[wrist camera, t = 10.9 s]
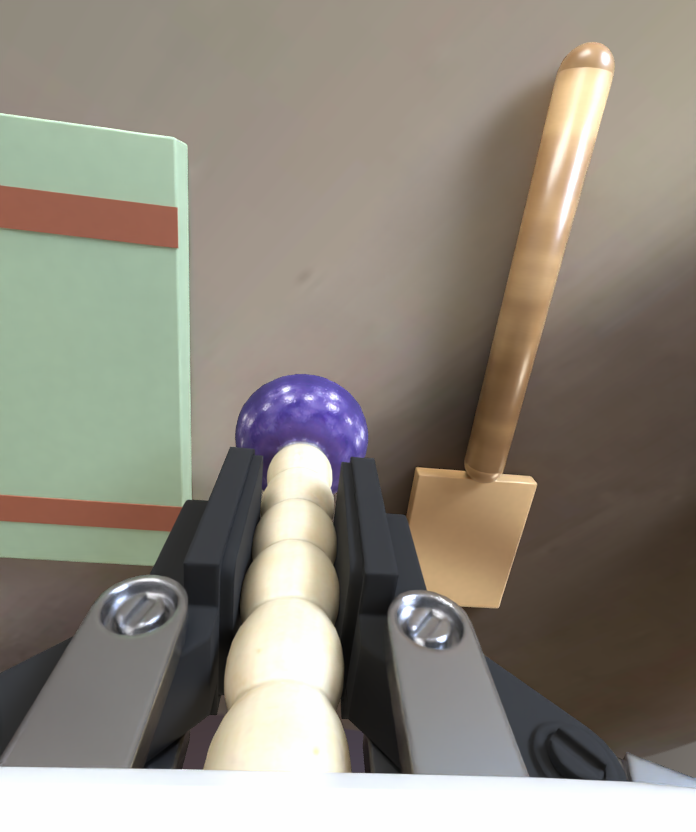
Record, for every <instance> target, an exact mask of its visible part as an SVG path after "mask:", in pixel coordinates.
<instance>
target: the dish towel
mask: <svg viewBox="0 0 696 832" xmlns="http://www.w3.org/2000/svg"><path fill="white" fill-rule="evenodd" d="M186 500H192V479H191V398H190V318H189V237H188V156H187V144H185V143H183V142H181V141H179V140H178V139H176V138H174V137H168V136H161V135H154V134H146V133H139V132H132V131H125V130H117V129H110V128H103V127H96V126H89V125H81V124H74V123H67V122H60V121H52V120H45V119H38V118H31V117H24V116H16V115H9V114H2V113H0V557H3V558H20V559H38V560H56V561H74V562H91V563H109V564H127V565H145V566H154V565H155V562H156V560H157V558H158V556H159V554H160V552H161V550H162V548H163V546H164V544H165V542H166V540H167V538H168V536H169V534H170V532H171V530H172V528H173V525H174V523H175V521H176V519H177V517H178V515H179V513H180V511H181V509H182V507H183V505H184V503H185V502H186Z"/></svg>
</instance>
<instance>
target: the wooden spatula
mask: <svg viewBox="0 0 696 832" xmlns="http://www.w3.org/2000/svg"><path fill="white" fill-rule="evenodd" d="M614 70H615V62H614V58H613V55H612V53H611V51H610V50H609V49H608V48H607V47H606V46H604V45H603V44H600V43H595V42H591V43H585V44H582V45H580V46H578V47H576V48H575V49H574V50H572V51H571V52H570V53H569V54H568V55H567V56H566V57H565V59H564V60H563V61H562V63H561V65H560V67H559V69H558V72H557V76H556V80H555V84H554V88H553V92H552V97H551V101H550V105H549V109H548V113H547V117H546V122H545V126H544V130H543V134H542V138H541V142H540V147H539V151H538V155H537V159H536V163H535V168H534V172H533V176H532V180H531V184H530V188H529V193H528V197H527V201H526V205H525V209H524V213H523V218H522V222H521V226H520V230H519V234H518V239H517V243H516V247H515V251H514V255H513V259H512V264H511V268H510V272H509V276H508V280H507V284H506V289H505V293H504V297H503V301H502V305H501V310H500V314H499V318H498V322H497V326H496V330H495V335H494V339H493V343H492V347H491V351H490V355H489V360H488V364H487V368H486V372H485V376H484V381H483V385H482V389H481V393H480V397H479V401H478V406H477V410H476V414H475V418H474V422H473V426H472V431H471V435H470V439H469V443H468V447H467V452H466V456H465V461H464V466H465V470H466V471H459V470H446V469H434V468H421V467H416V469H415V474H414V479H413V484H412V490H411V495H410V500H409V505H408V510H407V515H406V518H407V520H408V524H409V527H410V531H411V535H412V538H413V542H414V545H415V549H416V553H417V556H418V560H419V563H420V567H421V571H422V574H423V578H424V581H425V585H426V588H427V591H432V592H436V593H438V594H441V595H443V596H446V597H448V598H449V599H451V600H452V601H454V602H455V603H457V604H458V605H459V606H464V607H483V608H499V605H500V602H501V598H502V595H503V592H504V589H505V586H506V582H507V579H508V576H509V573H510V570H511V567H512V563H513V560H514V557H515V554H516V551H517V547H518V544H519V541H520V538H521V535H522V531H523V528H524V525H525V522H526V519H527V516H528V512H529V509H530V506H531V503H532V500H533V496H534V493H535V490H536V487H537V483H536V482H535V481H534V479H533V478H532V477H531V476H522V475H510V474H502V473H503V470H504V467H505V464H506V460H507V457H508V453H509V449H510V446H511V442H512V439H513V435H514V431H515V428H516V424H517V421H518V417H519V413H520V410H521V406H522V403H523V399H524V396H525V392H526V388H527V385H528V381H529V378H530V374H531V370H532V367H533V363H534V360H535V356H536V352H537V349H538V345H539V342H540V338H541V334H542V331H543V327H544V324H545V320H546V316H547V313H548V309H549V306H550V302H551V298H552V295H553V291H554V288H555V284H556V280H557V277H558V273H559V270H560V266H561V263H562V259H563V255H564V252H565V248H566V245H567V241H568V237H569V234H570V230H571V227H572V223H573V219H574V216H575V212H576V209H577V205H578V201H579V198H580V194H581V191H582V187H583V183H584V180H585V176H586V173H587V169H588V165H589V162H590V158H591V155H592V151H593V147H594V144H595V140H596V137H597V133H598V130H599V126H600V122H601V119H602V115H603V112H604V108H605V104H606V101H607V97H608V94H609V90H610V86H611V83H612V79H613V75H614Z"/></svg>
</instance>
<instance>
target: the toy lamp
mask: <svg viewBox="0 0 696 832" xmlns="http://www.w3.org/2000/svg"><path fill="white" fill-rule="evenodd" d="M235 441H236V447H238V448H250V449H255V455H262V456H263V475H262V490H263V491H264V493H263V496H262V500H261V519H260V521H259V523H258V524H257V526H256V529H255V532H254V538H253V544H252V559H253V562H252V563H251V565H250V567H249V568H248V570H247V572H246V575H245V577H244V581H243V585H242V591H241V598H240V617H241V621H242V625H241V626H240V628H239V630H238V631H237V633H236V635H235V637H234V639H233V641H232V644H231V647H230V650H229V654H228V657H227V662H226V668H225V675H224V696H225V700H226V705H227V709H228V713H227V714H226V715H225V717H224V718H223V720H222V722H221V724H220V726H219V728H218V730H217V732H216V734H215V735H214V737H213V739H212V742H211V744H210V747H209V750H208V754H207V758H206V761H205V765H204V768H203V770H239V771H289V772H336V773H351V762H350V754H349V747H348V743H347V739H346V735H345V732H344V729H343V727H342V724H341V721H340V719H339V717H338V715H337V714H336V710H337V707H338V704H339V702H340V699H341V695H342V690H343V681H344V659H343V650H342V645H341V642H340V638H339V636H338V633H337V631H336V628H335V627H334V625H335V622H336V619H337V616H338V611H339V594H340V593H339V580H338V577H337V573H336V570H335V568H334V566H333V564H334V562H335V559H336V552H337V536H336V531H335V527H334V525H333V522H332V519H333V514H334V498H333V494H335V493H336V492H338V484H339V476H340V468H341V463H342V462H349V463H350V458H351V457H361V458H364V457H365V454H366V450H367V444H368V428H367V424H366V420H365V417H364V415H363V412H362V410H361V407H360V405H359V404H358V402H357V401H356V400H355V399H354V397H353V396H352V395H351V394H350V393H349V392H348V391H347V390H345V389H344V388H343V387H341V386H340V385H338V384H337V383H335V382H332V381H330V380H328V379H326V378H323V377H320V376H315V375H307V374H295V375H288V376H283V377H280V378H277V379H275V380H273V381H271V382H269V383H267V384H264V385H263V386H261V387H260V388H259V389H257V390H256V392H254V393H253V394H252V395H251V396H250V398H249V399H248V400H247V402H246V403H245V404H244V405H243V408H242V410H241V412H240V414H239V417H238V421H237V425H236V433H235Z"/></svg>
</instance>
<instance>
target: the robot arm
mask: <svg viewBox="0 0 696 832" xmlns="http://www.w3.org/2000/svg"><path fill="white" fill-rule="evenodd" d="M262 475H263V456H262V455H255V449H250V448H238V447H230V449H229V451H228V454H227V456H226V459H225V461H224V464H223V466H222V468H221V471H220V473H219V476H218V478H217V481H216V483H215V486H214V488H213V491H212V493H211V496H210V498H209V501H203V500H186V502H185V503H184V505H183V507H182V509H181V511H180V513H179V515H178V517H177V519H176V521H175V523H174V525H173V528H172V530H171V532H170V534H169V536H168V538H167V540H166V542H165V544H164V546H163V548H162V550H161V552H160V554H159V556H158V558H157V560H156V562H155V565H154V567H153V569H152V571H151V573H150V575H141V576H137V577H133V578H129V579H126V580H124V581H121V582H119V583H117V584H115V585H113V586H112V587H110V588H109V589H107V590H106V591H105V592H103V593H102V594H101V595H100V596H99V598H98V599H97V600H96V601H95V602H94V604H93V605H92V607H91V608H90V610H89V612H88V613H87V615H86V617H85V618H84V620H83V622H82V623H81V625H80V627H79V628H78V630H77V631H76V633H75V635H74V636H73V637H71V638H69V639H67V640H65V641H63V642H61V643H59V644H57V645H55V646H53V647H51V648H49V649H47V650H45V651H43V652H41V653H39V654H37V655H35V656H33V657H31V658H29V659H27V660H26V661H24V662H22V663H20V664H18V665H16V666H14V667H12V668H10V669H8V670H6V671H4V672H2V673H0V832H696V778H693V777H690V776H688V775H685V774H682V773H680V772H677V771H674V770H672V769H669V768H667V767H664V766H662V765H659V764H656V763H653V762H651V761H648V760H646V759H643V758H641V757H638V756H635V755H633V754H630V753H626V755H625V756H624V758H623V759H621V758H618V757H616V755H615V754H614V753H613V752H612V751H611V749H610V748H609V747H608V746H607V744H606V743H605V742H604V741H603V740H602V739H601V738H600V737H598V736H597V735H596V734H595V733H594V732H593V731H591V730H590V729H589V728H588V727H586V726H585V725H583V724H582V723H581V722H579V721H578V720H576V719H575V718H573V717H572V716H571V715H569V714H568V713H566V712H565V711H563V710H562V709H561V708H559V707H558V706H556V705H555V704H553V703H552V702H551V701H549V700H548V699H546V698H545V697H543V696H542V695H541V694H539V693H538V692H536V691H535V690H533V689H532V688H531V687H529V686H528V685H526V684H525V683H524V682H522V681H521V680H519V679H518V678H516V677H515V676H514V675H512V674H511V673H509V672H508V671H506V670H505V669H504V668H502V667H501V666H499V665H498V664H496V663H495V662H494V661H492V660H491V659H489V658H488V657H486V656H485V655H484V654H483V652H482V649H481V646H480V644H479V641H478V638H477V636H476V633H475V630H474V628H473V625H472V623H471V621H470V619H469V617H468V616H467V614H466V612H465V611H464V610H463V609H462V608H461V607H460V606H459V605H458V604H457V603H455V602H454V601H452V600H451V599H449V598H448V597H446V596H443V595H441V594H438V593H436V592H432V591H427V588H426V585H425V581H424V578H423V574H422V571H421V567H420V563H419V560H418V556H417V553H416V549H415V545H414V542H413V538H412V535H411V531H410V527H409V524H408V520H407V518H406V516H405V515H400V514H386V512H385V507H384V502H383V498H382V493H381V488H380V483H379V479H378V474H377V469H376V464H375V460H374V459H373V458H361V457H351V458H350V463H349V462H342V463H341V468H340V476H339V484H338V492H337V500H336V508H335V516H334V523H333V525H334V527H335V531H336V536H337V552H336V559H335V562H334V564H333V566H334V568H335V570H336V573H337V577H338V580H339V593H340V594H339V611H338V616H337V619H336V622H335V625H334V627H335V628H336V631H337V633H338V636H339V638H340V642H341V645H342V650H343V659H344V681H343V690H342V695H341V717H342V719H349V720H350V721H351V722H352V723H353V724H354V725H355V726H356V727H357V728H358V729H359V730H360V731H362V732H363V733H364V739H363V753H364V764H365V773H336V772H289V771H239V770H188V769H187V770H186V769H182V767H183V763H184V759H185V755H186V751H187V748H188V744H189V738H190V729H191V728H193V727H194V726H195V725H197V724H198V723H199V722H201V721H202V720H203V719H205V718H206V717H207V716H209V715H217V712H218V707H219V702H220V698H221V695H224V675H225V668H226V662H227V657H228V654H229V650H230V647H231V644H232V641H233V639H234V637H235V635H236V633H237V631H238V630H239V628H240V626H241V625H242V621H241V617H240V598H241V591H242V585H243V581H244V577H245V575H246V572H247V570H248V568H249V567H250V565H251V563H252V562H253V559H252V544H253V538H254V532H255V529H256V526H257V524H258V523H259V521H260V512H261V493H262Z"/></svg>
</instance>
